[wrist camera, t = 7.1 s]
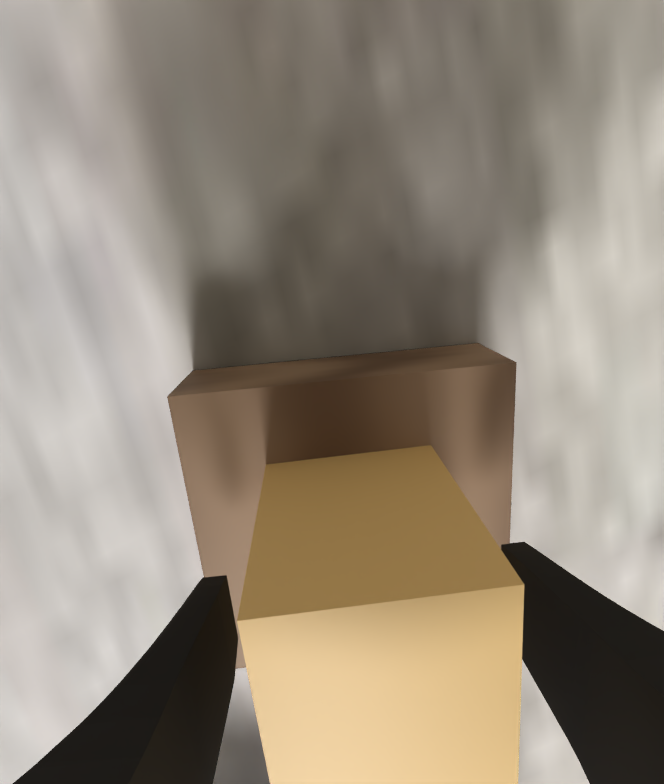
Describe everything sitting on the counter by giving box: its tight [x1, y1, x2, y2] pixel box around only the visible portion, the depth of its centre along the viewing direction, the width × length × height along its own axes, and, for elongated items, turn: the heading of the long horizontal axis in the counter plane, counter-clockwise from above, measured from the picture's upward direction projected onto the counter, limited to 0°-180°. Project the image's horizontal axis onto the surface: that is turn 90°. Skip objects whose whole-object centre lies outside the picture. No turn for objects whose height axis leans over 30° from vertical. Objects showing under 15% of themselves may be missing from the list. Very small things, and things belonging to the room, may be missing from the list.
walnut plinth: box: [167, 343, 516, 669], centre depth 16 cm, size 10×10×3 cm
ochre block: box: [237, 445, 524, 784], centre depth 11 cm, size 5×5×6 cm
